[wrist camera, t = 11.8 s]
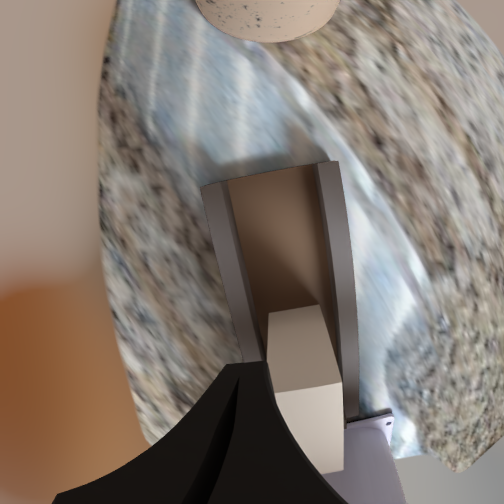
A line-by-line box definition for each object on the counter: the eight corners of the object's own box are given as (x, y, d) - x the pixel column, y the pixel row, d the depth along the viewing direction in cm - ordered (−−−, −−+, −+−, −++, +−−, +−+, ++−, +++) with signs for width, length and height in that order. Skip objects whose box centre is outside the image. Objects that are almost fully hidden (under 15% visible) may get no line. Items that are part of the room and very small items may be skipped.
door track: (354, 387, 20) (365, 424, 16) (262, 402, 21) (259, 441, 17) (331, 160, 16) (348, 159, 12) (208, 184, 17) (188, 190, 13)
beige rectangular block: (319, 304, 17) (342, 381, 10) (328, 390, 19) (343, 470, 12) (268, 312, 17) (265, 394, 11) (286, 397, 19) (288, 478, 13)
